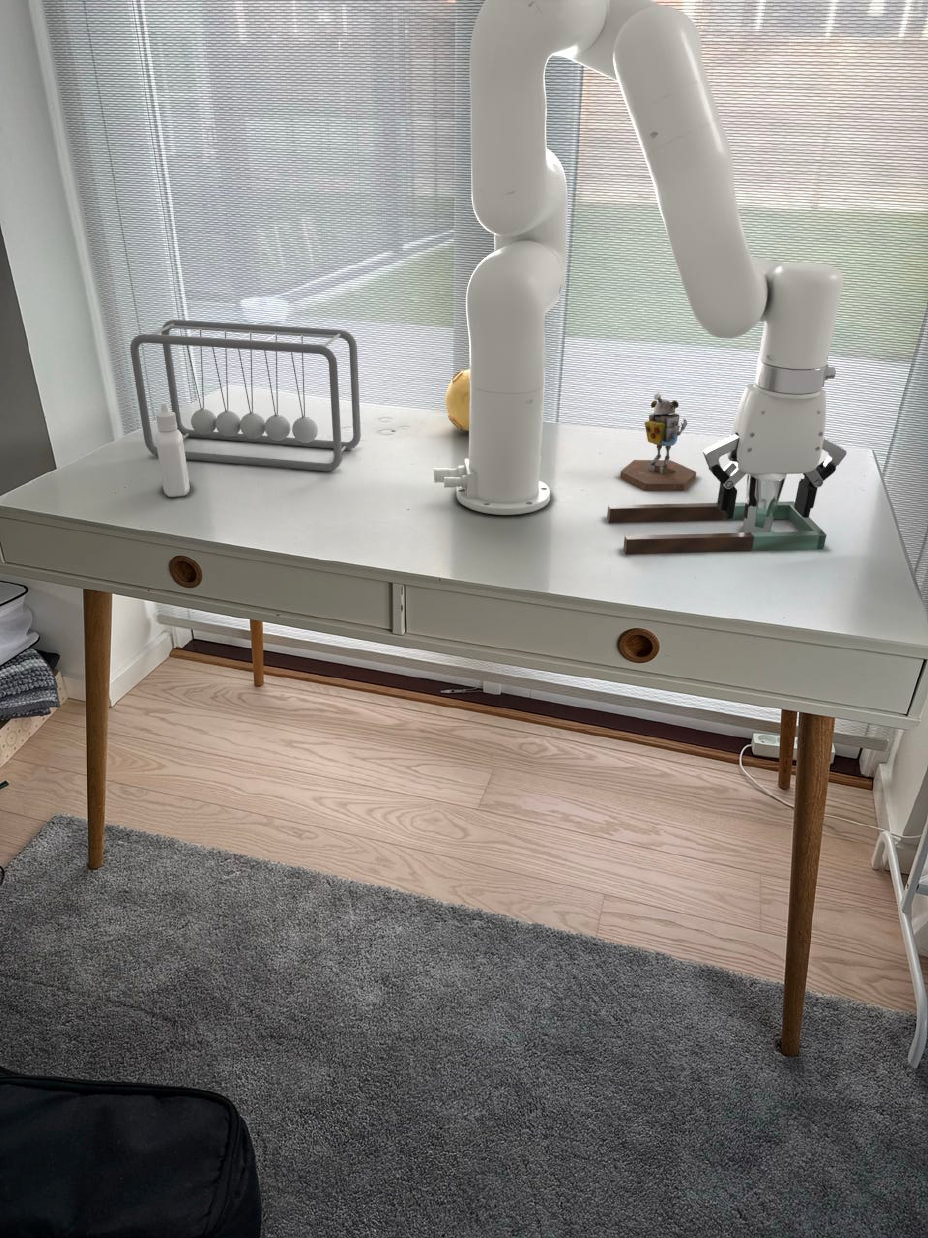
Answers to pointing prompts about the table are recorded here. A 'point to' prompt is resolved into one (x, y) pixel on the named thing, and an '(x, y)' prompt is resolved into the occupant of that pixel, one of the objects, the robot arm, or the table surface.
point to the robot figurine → (660, 433)
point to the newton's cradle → (252, 422)
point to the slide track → (802, 539)
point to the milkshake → (762, 501)
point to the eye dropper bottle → (171, 454)
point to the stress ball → (459, 400)
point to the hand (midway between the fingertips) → (763, 514)
